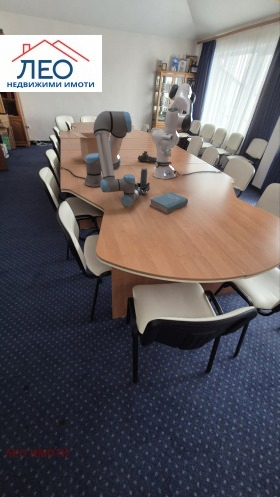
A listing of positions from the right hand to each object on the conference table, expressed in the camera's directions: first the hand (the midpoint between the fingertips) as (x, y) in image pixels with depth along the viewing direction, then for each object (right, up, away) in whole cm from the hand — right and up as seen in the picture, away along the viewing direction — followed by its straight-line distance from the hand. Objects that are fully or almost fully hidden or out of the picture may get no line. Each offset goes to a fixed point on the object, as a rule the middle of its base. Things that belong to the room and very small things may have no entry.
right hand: (167, 155), depth 164 cm
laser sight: (-12, +27, +82) cm, 87 cm away
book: (0, -38, -5) cm, 39 cm away
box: (-70, +25, +72) cm, 104 cm away
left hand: (-16, -18, +9) cm, 26 cm away
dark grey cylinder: (-18, -26, +9) cm, 33 cm away
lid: (0, +2, -1) cm, 2 cm away
